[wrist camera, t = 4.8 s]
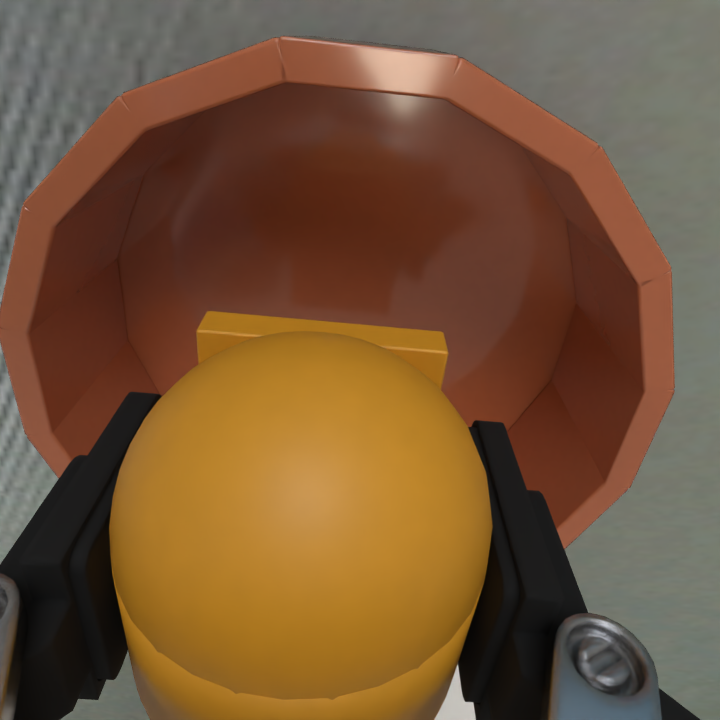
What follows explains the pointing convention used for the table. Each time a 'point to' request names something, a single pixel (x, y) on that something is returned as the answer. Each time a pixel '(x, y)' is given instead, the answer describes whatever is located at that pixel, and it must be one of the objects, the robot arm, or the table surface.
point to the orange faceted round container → (350, 251)
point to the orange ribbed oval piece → (300, 527)
